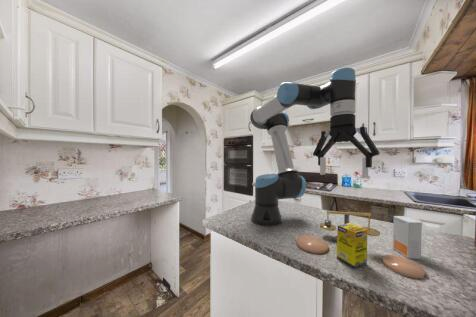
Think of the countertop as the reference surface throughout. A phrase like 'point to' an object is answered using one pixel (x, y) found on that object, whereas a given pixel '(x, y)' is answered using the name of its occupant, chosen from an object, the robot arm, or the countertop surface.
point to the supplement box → (352, 244)
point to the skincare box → (407, 236)
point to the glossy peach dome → (403, 266)
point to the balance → (329, 226)
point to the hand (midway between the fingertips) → (342, 176)
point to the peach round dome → (312, 244)
